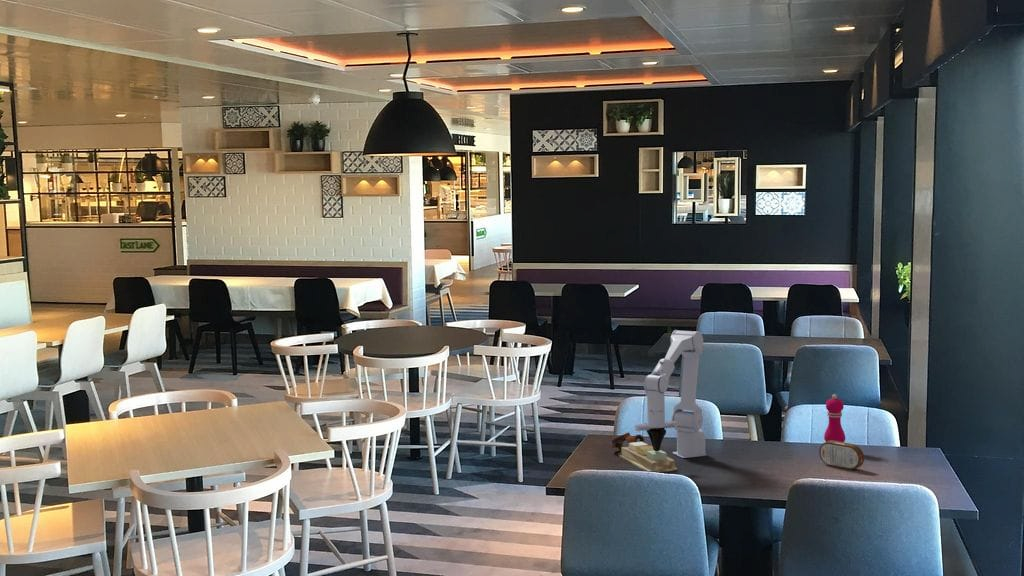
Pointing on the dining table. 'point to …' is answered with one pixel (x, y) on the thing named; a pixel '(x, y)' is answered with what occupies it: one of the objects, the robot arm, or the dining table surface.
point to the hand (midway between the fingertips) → (656, 450)
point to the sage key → (656, 455)
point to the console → (647, 461)
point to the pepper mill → (834, 420)
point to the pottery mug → (630, 439)
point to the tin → (841, 454)
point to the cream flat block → (644, 450)
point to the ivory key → (636, 445)
